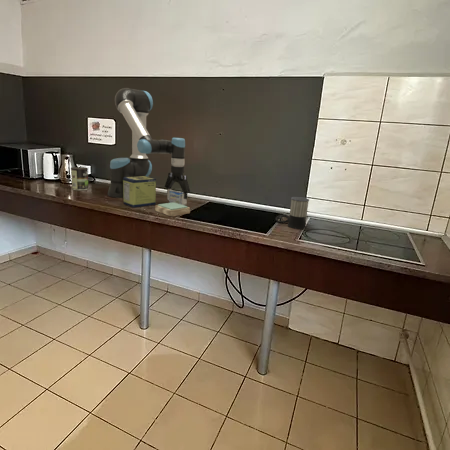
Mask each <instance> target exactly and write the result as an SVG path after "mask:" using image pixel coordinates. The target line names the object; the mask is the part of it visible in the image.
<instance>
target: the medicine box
mask: <svg viewBox="0 0 450 450" xmlns="http://www.w3.org/2000/svg"><path fill="white" fill-rule="evenodd" d="M182 193H183V191H179V190H173V189H172V191H170V194H169V200H168V201H169V202H168V203H172V202H174V203H178V204H181V205H182Z"/></svg>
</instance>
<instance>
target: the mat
mask: <svg viewBox="0 0 450 450" xmlns="http://www.w3.org/2000/svg"><path fill="white" fill-rule="evenodd" d="M157 205H158V206H161V207H164V208H167V209H170V210H176V209H183V208H188V207H189V206H187V205H181V204H178V203H174V202H172V203H169V202H166V203H159V204H157Z"/></svg>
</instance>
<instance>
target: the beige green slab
mask: <svg viewBox="0 0 450 450" xmlns="http://www.w3.org/2000/svg"><path fill="white" fill-rule="evenodd" d="M187 207H188V208H183V209H176V210H170V209H167V208H164V207H161V206H158V204H155V205H154V211H155V212H158V213H160V214H164V215H166V216H168V217H175V216H176V217H177V216H181V215H187V214H190V213H191V207H189V206H187Z"/></svg>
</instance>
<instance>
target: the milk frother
mask: <svg viewBox="0 0 450 450" xmlns="http://www.w3.org/2000/svg"><path fill="white" fill-rule="evenodd" d="M290 199H291V200H290V208H289V209H290V210H289V215H288V214H284V213H283V214H279V215H277V216H276V217H275V221H276V222H277V223H280V224H285V223H287V227H289V228H291V229H296V230H297V229H298V230H304V229H305V228H306V221H307V215H308V207H309V201H310V199H309V198H307V197H303V196H302V197H301V196H292V197H290ZM283 218H286V220H282V219H283Z"/></svg>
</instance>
